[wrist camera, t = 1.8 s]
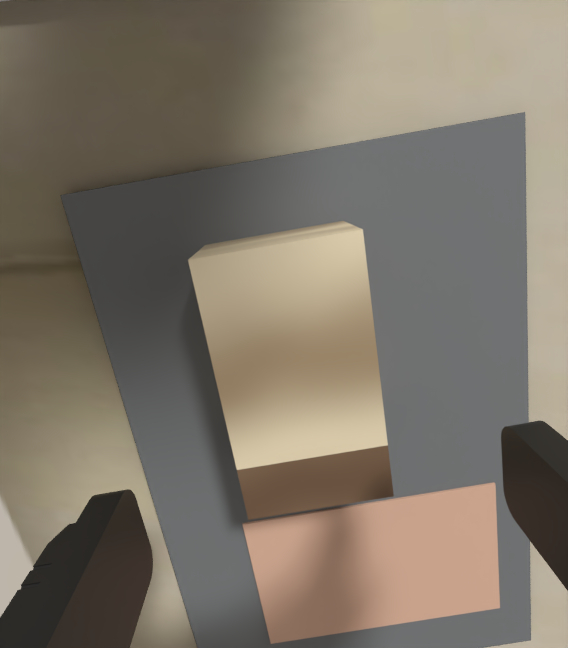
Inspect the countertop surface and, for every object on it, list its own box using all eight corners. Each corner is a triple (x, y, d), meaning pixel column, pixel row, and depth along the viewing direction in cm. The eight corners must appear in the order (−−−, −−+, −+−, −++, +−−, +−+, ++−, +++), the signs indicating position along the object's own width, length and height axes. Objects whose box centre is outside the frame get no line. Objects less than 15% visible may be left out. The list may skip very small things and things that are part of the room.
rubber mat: (65, 195, 16) (59, 195, 15) (518, 114, 15) (526, 111, 15) (211, 681, 23) (210, 691, 22) (526, 632, 22) (532, 642, 22)
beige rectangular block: (205, 245, 16) (187, 259, 13) (343, 220, 16) (362, 229, 13) (252, 460, 19) (248, 519, 15) (371, 440, 19) (393, 496, 15)
